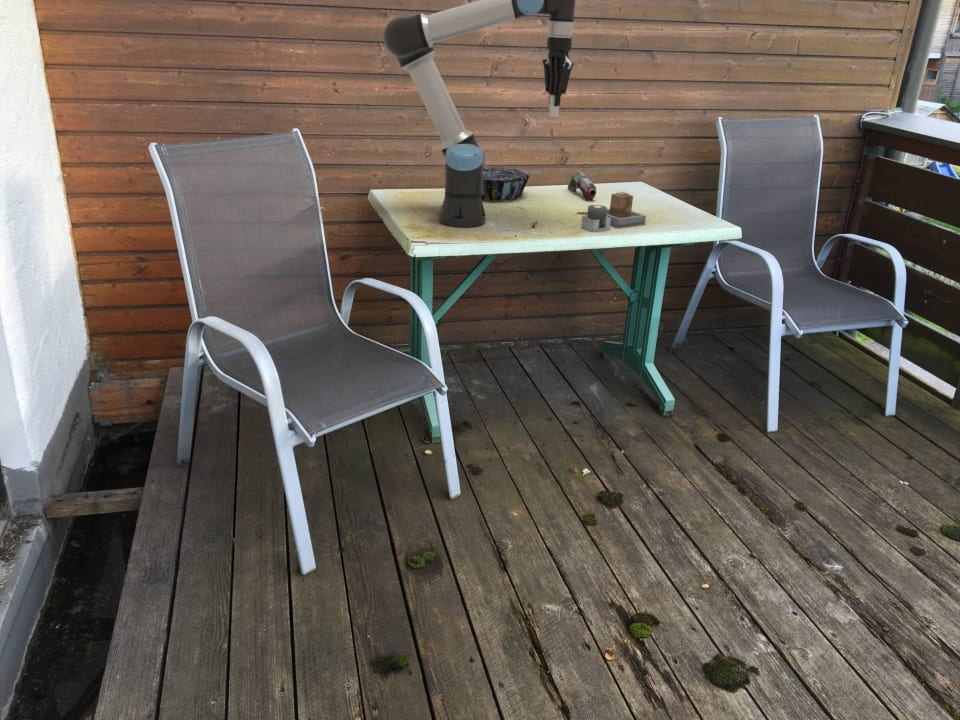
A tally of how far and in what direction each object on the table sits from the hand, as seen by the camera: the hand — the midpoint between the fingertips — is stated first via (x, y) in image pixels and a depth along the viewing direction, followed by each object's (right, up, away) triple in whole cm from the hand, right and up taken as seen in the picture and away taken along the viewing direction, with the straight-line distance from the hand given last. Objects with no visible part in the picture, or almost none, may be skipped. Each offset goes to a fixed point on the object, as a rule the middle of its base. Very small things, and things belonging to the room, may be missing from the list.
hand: (553, 116), depth 247 cm
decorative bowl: (-19, -17, +38) cm, 46 cm away
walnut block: (+23, -31, +10) cm, 40 cm away
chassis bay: (+23, -32, +10) cm, 41 cm away
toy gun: (+14, -16, +44) cm, 49 cm away
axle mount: (+14, -36, +1) cm, 38 cm away
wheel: (+14, -35, +1) cm, 37 cm away
